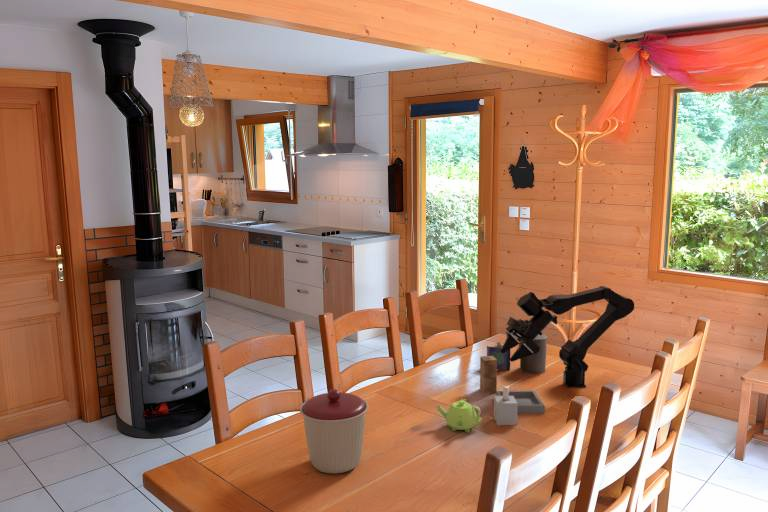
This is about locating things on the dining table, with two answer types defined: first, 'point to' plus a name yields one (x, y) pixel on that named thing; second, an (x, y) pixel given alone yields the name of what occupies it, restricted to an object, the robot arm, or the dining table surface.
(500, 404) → the grey soap dispenser
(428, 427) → the dining table surface
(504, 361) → the flask
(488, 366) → the walnut block
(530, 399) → the tray
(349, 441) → the canister
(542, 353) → the pillar candle
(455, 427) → the teapot
